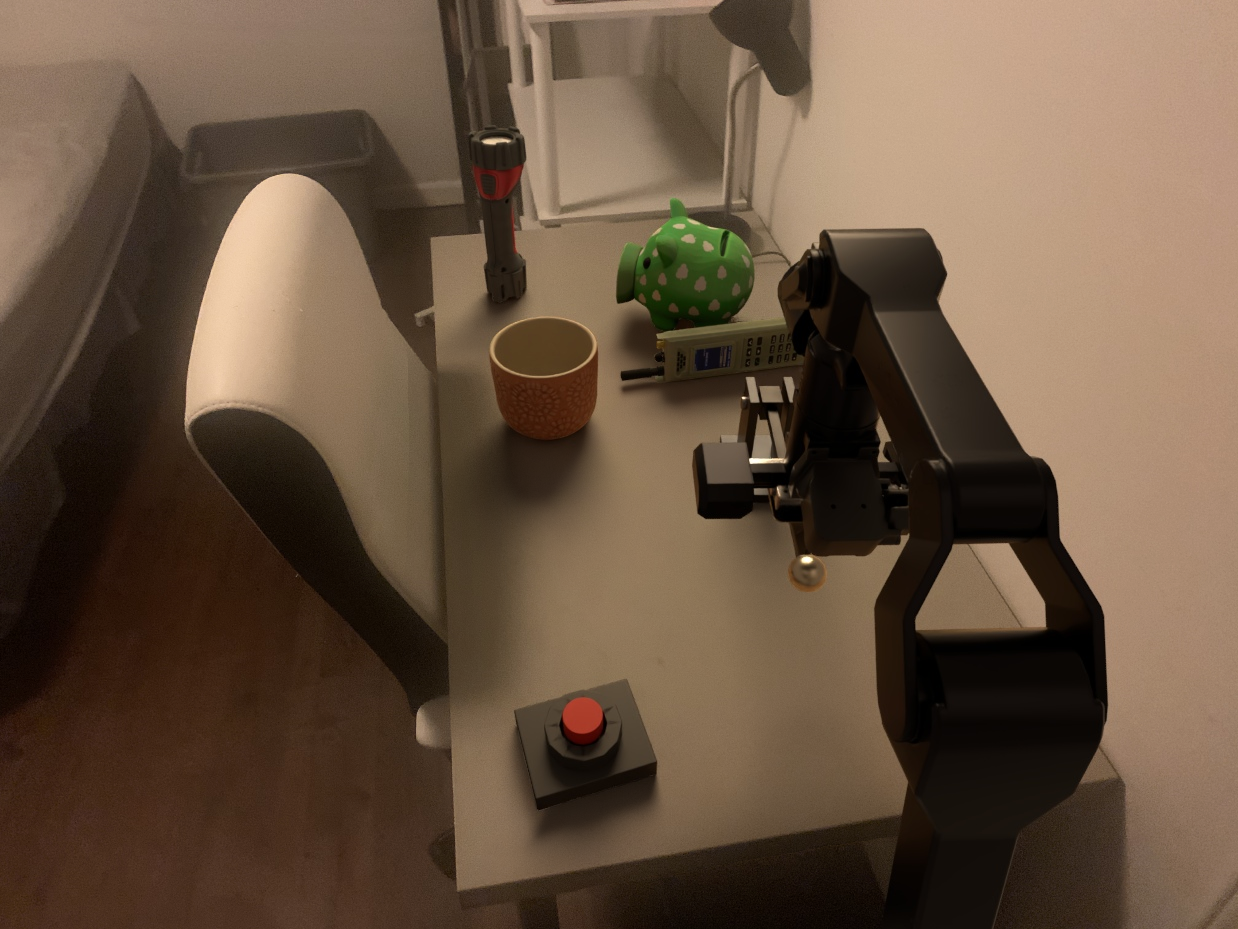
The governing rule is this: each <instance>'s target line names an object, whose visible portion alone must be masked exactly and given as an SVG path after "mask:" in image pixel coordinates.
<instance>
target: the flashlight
mask: <svg viewBox="0 0 1238 929" xmlns="http://www.w3.org/2000/svg"><path fill="white" fill-rule="evenodd" d="M467 142H468V154H469V161H471V162H472V168H473V176H474V181H475V184H476V187H477V190H478V195H479V199H480V203H481V212H482V213H481V214H482V223H483V224H482V225H483V233H484V242H485V250H486V259H487V260H486V262H485V263H484V264H483V270H484V271H483V273H484V279H485V286H486V291H487V293H488V294H491V296H492V299H491V300H492V301H493V302H494V303H498V304H499V303H503V302H505V301H507V300H508V299H509V298H513V297H514V298H515V299H519V298H520V297H522V296H523V291H525V290H527V287H528V280H527V279H528V278H527V260H526V259H525V258H523V255H522V254H521V253H520V252H518V250H517V246H516V234H515V221H514V220H515V217H514V210H513V208H514V207H513V195H514V193H515V191H516V188H517V187H518V184H519V182H520V180H521V177H522V175H523V170H524V166H525V163H526V161H527V159H528V158H527V150H526V148H527V147H526V141H525V135H524V134H522V133H521V130H520V129H519V128H518V127H516V126H512V125H511V126H509V127H508V128H501V127H500V128H499V127H497V126H496V125H495V124H494V125H493V124H492V125H486V126H484V128H483V130H480V131H476V130H472V131H470V132H469V134H468V135H467Z"/></svg>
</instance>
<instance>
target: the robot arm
mask: <svg viewBox="0 0 1238 929" xmlns="http://www.w3.org/2000/svg"><path fill="white" fill-rule="evenodd" d="M947 277H948V271H947V269H946V266H945V263H944V258H943V255H942V253H941V250H940V249H939V248H938V246H937V244H936V242H935V240H934V238H933V236H932V235H931V233H929V231H927V229H925V228H924V227H905V228H904V227H892V228H891V227H890V228H885V227H884V228H830V229H829V228H824V229H822V230H821V232H819V234H818V242H817V241H815V242H812V243H811V246H810V248H807V249H806V250H805V251H804V252H803V254H802V255H801V257H800V259H799V260H798V261H797V262H795V263H794V264H793V265H791V266H790V267H789V268H788V269H787V270H786V272H784V274H783V276H782V278H781V279H780V280H779V281H778V285H777V299H778V303H779V305H780V308H781V311H782V316H783V317H784V318H785V321H786V325H787V328H788V331H789V334H790V337H791V340H792V343H793V347H794V350H795V351H796V353H797V354H798V355H802V356H803V357H805V358H804V363H803V365H802V369H801V374H800V377H799V378H800V379H799V384H798V388H795V389H794V394H793V399H792V400H793V404H794V413H793V418H792V423H791V429H790V432H786V436H785V441H784V442H785V446H786V454H785V458H759V459H749V454H748V449H747V443H746V442H728V443H720V442H701V443H699V444H698V445H697V446H696V447H695V448H694V449H693V450H692V461H691V470H692V477H693V486H694V496H695V504H696V514H697V515H698V516H700V517H701V518H703V519H704V520H742V519H744V518H745V517H747V516H748V515H750V514H751V513H753V511H754V507H755V503H754V489H760V488H767V491H768V495H769V500H770V503H769V505H770V509H771V514H772V517H773V519H774V520H775V521H776V522H778V523H782V524H783V523H784V524H785V523H788V524H789V523H790V524H791V526H792V528H793V530H794V534H795V539H796V543H797V548H798V552H799V555H810V554H811V555H813V556H816V557H818V558H827V557H840V556H841V557H842V556H843V557H844V556H849V557H850V556H851V557H852V556H854V557H867V556H869V555H871V554H872V553H873V552H874V551H875V550H876V548H877V547H878V546H900V545H901V543H902V536H908V539H907V541H906V542H905V544H904V546H903V548H902V550H901V552H900V553H899V555H898V557H897V560H896V561H895V563H894V566H893V567H892V569H891V570H890V573H889V575H888V576H887V578H886V580H885V582H884V584H883V585H882V588H881V589H880V590H879V593H878V595H877V597H876V599H875V603H874V606H873V616H874V617H873V620H874V641H875V642H874V646H875V647H874V648H875V649H874V650H875V678H876V680H875V681H876V695H877V696H876V698H877V706H878V710H879V715H880V720H881V726H882V728H883V730H884V733H885V734H886V736H887V739H888V741H889V743H890V746H891V747H892V750H893V752H894V754H895V757H896V759H897V761H898V763H899V765H900V767H901V770H902V771H903V774H904V776H905V778H906V780H907V784H906V790H905V796H904V800H903V801H904V802H903V807H902V810H901V811H902V812H901V818H900V823H899V829H898V833H897V838H896V844H895V849H894V854H893V860H892V865H891V871H890V876H889V881H888V887H887V892H886V898H885V903H884V908H883V913H882V917H881V918H882V919H881V924H880V929H994V928H995V927H994V926H995V923H996V920H997V916H998V913H999V909H1000V906H1001V903H1002V902H1001V901H1002V898H1003V894H1004V892H1005V887H1006V883H1007V879H1008V877H1009V872H1010V869H1011V866H1012V862H1013V859H1014V854H1015V852H1016V847H1017V843H1018V840H1019V836H1020V834H1021V832H1022V831H1023V830H1024V829H1026V828H1027V827H1028V826H1030V825H1031V824H1033V823H1035V821H1037V820H1038V819H1040V818H1041V817H1043V816H1044V815H1046V814H1047V813H1049V812H1050V811H1052V810H1053V809H1054V808H1056V807H1057V806H1059V805H1060V804H1062V803H1063V802H1065V801H1066V800H1068V799H1069V798H1071V797H1072V796H1073V795H1074V794H1075V792H1076V791H1077V789H1078V787H1079V785H1080V783H1081V781H1082V779H1083V777H1084V775H1085V774H1086V772H1087V770H1088V768H1089V766H1090V765H1091V763H1092V761H1093V759H1094V758H1095V755H1096V753H1097V751H1098V750H1099V747H1100V745H1101V743H1102V740H1103V736H1104V729H1105V725H1106V723H1107V721H1108V710H1109V694H1108V693H1109V692H1108V691H1109V690H1108V670H1107V669H1108V668H1107V647H1106V646H1107V644H1106V624H1105V613H1104V610H1103V606H1102V605H1101V603H1100V601H1099V600H1098V598H1097V597H1096V595H1095V593H1094V592H1093V590H1092V588H1091V587H1090V585H1089V584H1088V583H1087V581H1086V579H1085V577H1084V576H1083V574H1082V572H1081V571H1080V569H1079V568H1078V566H1077V565H1076V563H1075V561H1074V560H1073V558H1072V556H1071V555H1070V553H1069V551H1068V550H1067V548H1066V547H1065V545H1064V544H1063V542H1062V540H1061V531H1060V530H1061V528H1060V506H1059V492H1058V486H1057V480H1056V477H1055V475H1054V473H1053V470H1052V468H1051V466H1050V465H1049V464H1048V463H1047V462H1046V461H1045V460H1044V459H1043V458H1042V457H1039V456H1034V455H1030V454H1029V453H1027V452H1026V451H1025V449H1024V447H1023V446H1022V444H1021V442H1020V441H1019V438H1018V437H1017V436H1016V433H1015V432H1014V431H1013V429H1012V427H1011V426H1010V424H1009V422H1008V420H1007V418H1006V417H1005V415H1004V414H1003V412H1002V410H1001V409H1000V407H999V405H998V404H997V402H996V401H995V398H994V396H993V395H992V393H991V392H990V390H989V388H988V387H987V385H986V383H985V382H984V380H983V378H982V377H981V375H980V373H979V372H978V370H977V368H976V367H975V365H974V363H973V361H972V360H971V358H970V356H969V355H968V353H967V351H966V350H965V348H964V347H963V344H962V343H961V342H960V340H959V338H958V337H957V335H956V333H955V331H954V329H953V328H952V327H951V325H950V323H949V321H948V320H947V318H946V315H944V312H943V310H942V306H941V304H940V300H941V296H942V294H943V291H944V287H945V284H946V281H947ZM880 420H882V423H883V425H884V427H885V430H886V432H887V436H888V437H889V439H890V441H888V440H887V441H885V442H884V445H883V449H882V455H883V457H884V459H886V460H887V461H879V456H880V452H881V450H880V446H881V442H882V440H881V437H880V435H879V432H878V430H877V429H878V426H879V421H880ZM988 544H989V545H991V544H995V545H996V544H997V545H998V544H1008V545H1009V547H1010V548H1011V550H1012V552H1013V553H1014V555H1015V557H1016V558H1017V560H1018V561H1019V563H1020V565H1021V566H1022V567H1023V569H1024V571H1025V573H1026V574H1027V576H1028V577H1029V580H1030V581H1031V582H1032V584H1033V586H1034V587H1035V589H1036V590H1037V592H1038V594H1039V595H1040V598H1042V600H1043V602H1044V615H1045V617H1044V618H1045V626H1027V627H1026V626H1025V627H1024V626H1023V627H993V628H992V627H986V628H982V627H981V628H946V629H945V628H943V629H942V628H941V629H917V628H916V627H917V626H916V620H917V616H918V614H919V612H920V610H921V609H922V607H923V605H924V603H925V601H926V599H927V598H928V596H929V594H930V592H931V590H932V588H933V586H934V584H935V583H936V581H937V578H938V577H939V574H940V573H941V571H942V570H943V567H944V565H945V564H946V561H947V560H948V558H949V556H950V554H951V553H952V550H953V547H954V545H988Z"/></svg>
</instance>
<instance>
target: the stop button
mask: <svg viewBox="0 0 1238 929" xmlns="http://www.w3.org/2000/svg"><path fill="white" fill-rule="evenodd" d="M562 717H563V728H564V733H565V735H566V737H567V738H568V739H569V740H570V741H572V742H573V743H576V744H580V745H585V744H590V743H592V742H594V741H595V740H597V739H598V738H599V736H600V735H601V733H602V730H603V712H602V709H601V707H600V705H599V704H598V703H597V702H596V701H594V700H592V699H590V698H585V697H582V698H577V699H574V700H572V701H571V702H569V703H568V704H567V705H566V707H565V708H564V711H563V716H562Z"/></svg>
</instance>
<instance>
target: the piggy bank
mask: <svg viewBox="0 0 1238 929" xmlns="http://www.w3.org/2000/svg"><path fill="white" fill-rule="evenodd" d="M669 208H670V219H669V220H667V221H666V222H665V223H664V224H663V225H661V226H660V227H659V228H658V229H656V230H655V231H654V232H653V233H651V235H650V237H649V238H648V240H647V242H646V244H645V246H644V247H643V246H642V245H640V244H637V243H633V242H626V244H624V247H623V249H622V252H621V255H620V258H619V262H618V267H617V274H616V281H615V282H616V285H615V300H616V304H617V305H621V304H624V303H629V302H631V301H632V302H633V300H635V301H636V302H637V303H639V304H641V305H642V306H643V307H645V308H646V309H647V310H648V312H649V315H650V321H651V323H652V325H653V326H654V328H655V329H656V330H658V331H660V332H663V333H664V332H666V331H674V330H676V328H677V326H678V325H679V322H680V320H685V321H690V322H692V323H693V326H694V327H693V328H698V327H707V326H715V325H723V324H730V321H731V320H732V318H733V317H735V316H736V315H738V314H739V313H740V312H741V310H742V309H743V308H744V307H745V305H747V303H748V301H749V299H750V296H751V295H752V292H753V289H754V285H755V279H756V278H755V271H756V270H755V263H754V259H753V255H752V252H751V251H750V250H751V249H750V248H749V247H748V245H747V243H746V242H744V241H743V239H742V238H741V237H739V236H738V235H737V234H736V233H734V232H732V231H731V230H729V229H725V228H720V227H714V226H709V225H707V224H704V223H702V222H700V221H697V220H695V219H693V218H690V217H689V216H688V212H687V209H686V206H685V205H684V203H683V201H682V200H680V199H679V198H676V197H671V198H669Z"/></svg>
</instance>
